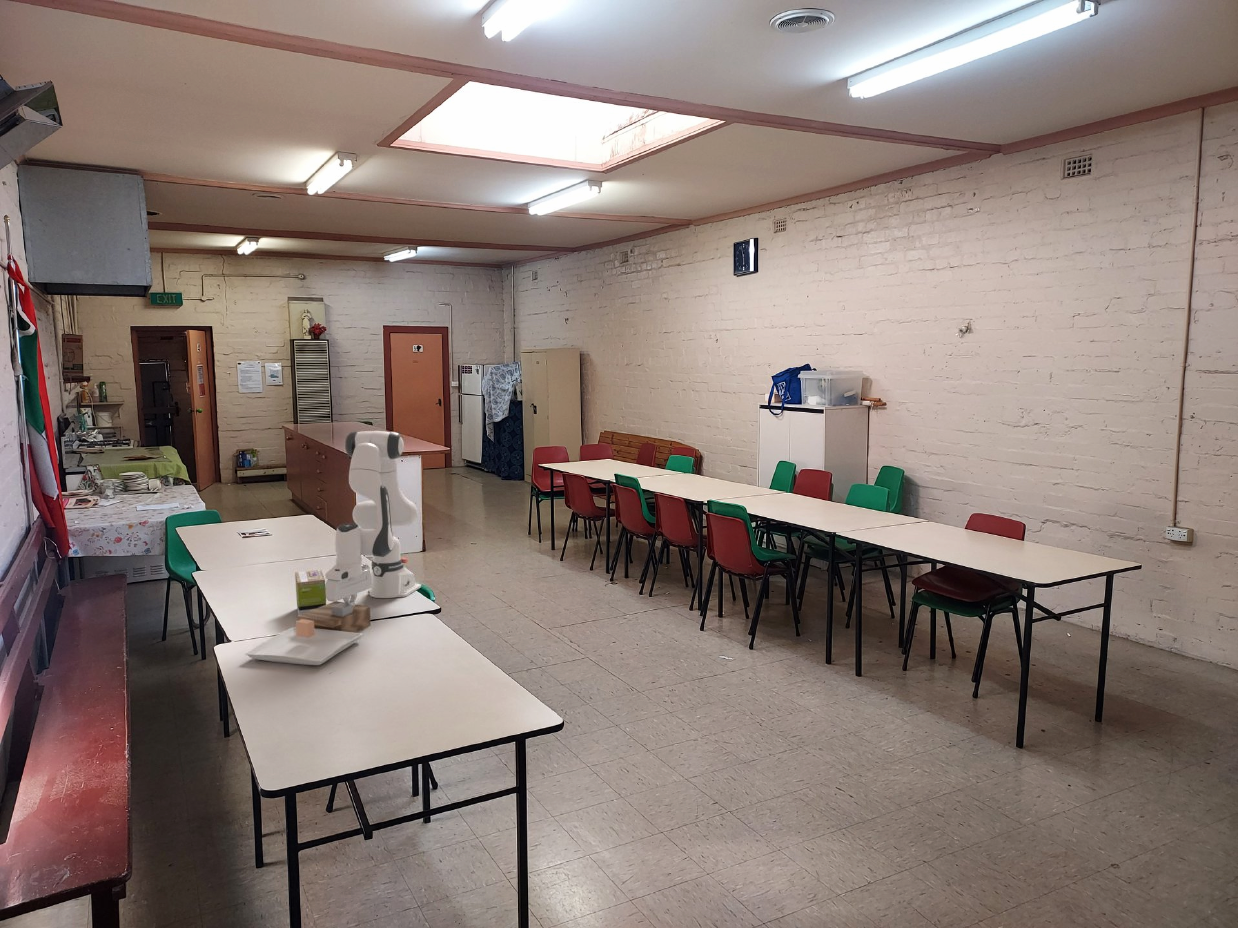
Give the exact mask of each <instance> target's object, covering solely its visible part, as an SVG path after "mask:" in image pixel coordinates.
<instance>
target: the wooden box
mask: <svg viewBox="0 0 1238 928" xmlns="http://www.w3.org/2000/svg"><path fill="white" fill-rule="evenodd" d="M339 603H345V602H344V601H339V600H338V601H336V602H332V601H331V602H330V603H326V605H324V606H322V607H319V608H316V609H314V610H311V611H308V612H306V613H303V614H301V615H296V619H297V620H296V622H297V621H299V620H301V619H305V620H311V621H314V628H315V629H327V630H336V631H344V632H353V633H358V632H359V631H361V630H363V629H365V628H368V627H371V606H366V605H361V604H360V605H359V604H356V603H355V606H353V613H351V614H348V615H346V616H343V617H341V616H336V615H332V610H331V607H332V606H334V605H337V604H339Z"/></svg>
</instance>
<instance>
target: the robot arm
mask: <svg viewBox="0 0 1238 928" xmlns="http://www.w3.org/2000/svg"><path fill="white" fill-rule="evenodd" d="M344 447H345V453H346V454H347V455H348V457H350V458H351V459H350V465H349V472H348V484H349V486H350V488H351V490H352V491H353V493H356V494H357V495H359V496H361V497H363V498H366V499H368V500H364V501H360V502H357V504H356V505H355V506H354V507H353V510H352V513H351V514H352V520H353V522H348V523H347V522H346V523H342V524H340V525H339V526H337V528H336V531H335V539H334V541H335V542H334V550H335V553H336V558H335V565H334V566H333V567H331V568H330V569H329V570H328V571H327V572H325V575H324V576H325V577H324V578H325V592H326V601H328V602H331V603H332V602H336V601H338V602H339V601H340V600H343V602H344V603H346V604H352V606H355V604H356V600H357V598H358V594H359V593H361V592H364V591H367V590H368V592H369V597H372V598H375V599H377V598H378V599H392V598H400V597H401V598H405V597H407V596H409V595H411V594H412V593H414V592H416V591H417V590H419V589H420V588H422V584H421V583H419V582H416V579H415V577H416V576H415V575H414V573H413V572H411V571H410V570H409V569H407V568H406V567H405V565H404V564H407V563H408V558H404V557H402V558H401V542H400V539H398V538H397V536H394V535H393V528H404V527H408V526H414V524H415V523H416V522H417V521H418V517H419V516H418V515H419V509H418V508H417V505H416V504H415V503H414V502H413V501H412V500H410V499H408V498H407V497H406V496H405V494H404V493H403V492H402V489H401V488H400V484H399V477H398V476H399V475H398V465H397V459H398V458H400V457H401V456H402V455H403V452H404V449H405V442H404V439H403V436H402V435H401V434H400V433H398V432H397V431H396V432H395V431H384V430H366V431H365V430H363V431H360V430H357V431H356V430H355V431H351V432H349V433H348V434H347V436H346V437H345V442H344ZM362 556H372V560H371V570H372V571H371V570H370V566H369V565H368V564H367V563H364V564H363V559H362ZM326 579H327V580H326Z"/></svg>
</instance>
